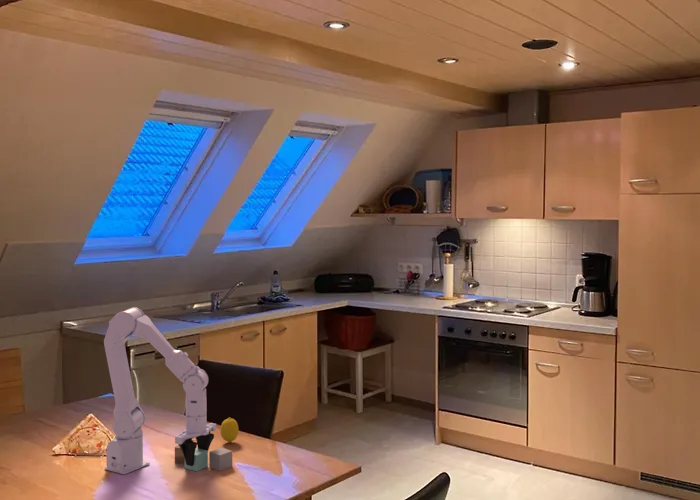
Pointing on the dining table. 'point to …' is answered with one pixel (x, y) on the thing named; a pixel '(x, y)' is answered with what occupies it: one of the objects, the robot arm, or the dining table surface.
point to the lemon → (229, 430)
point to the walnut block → (179, 455)
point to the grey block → (220, 459)
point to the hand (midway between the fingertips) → (196, 462)
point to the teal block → (199, 460)
